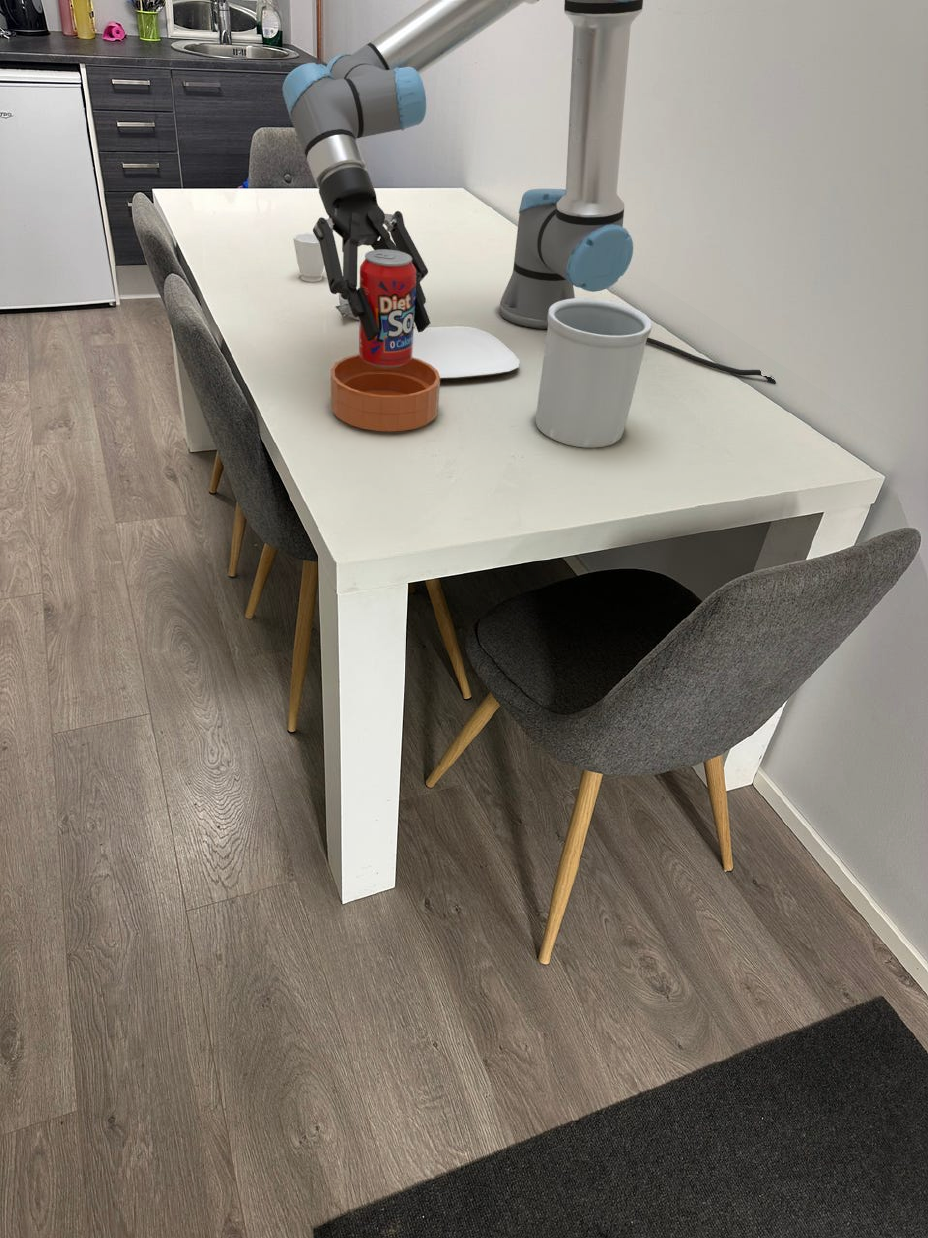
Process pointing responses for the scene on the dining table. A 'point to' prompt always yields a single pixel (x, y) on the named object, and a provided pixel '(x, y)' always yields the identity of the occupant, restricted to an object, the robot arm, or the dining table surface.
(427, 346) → the plate
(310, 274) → the cup
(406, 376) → the bowl
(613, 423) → the utensil holder
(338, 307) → the soldier figure
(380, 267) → the soda can
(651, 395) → the dining table surface
